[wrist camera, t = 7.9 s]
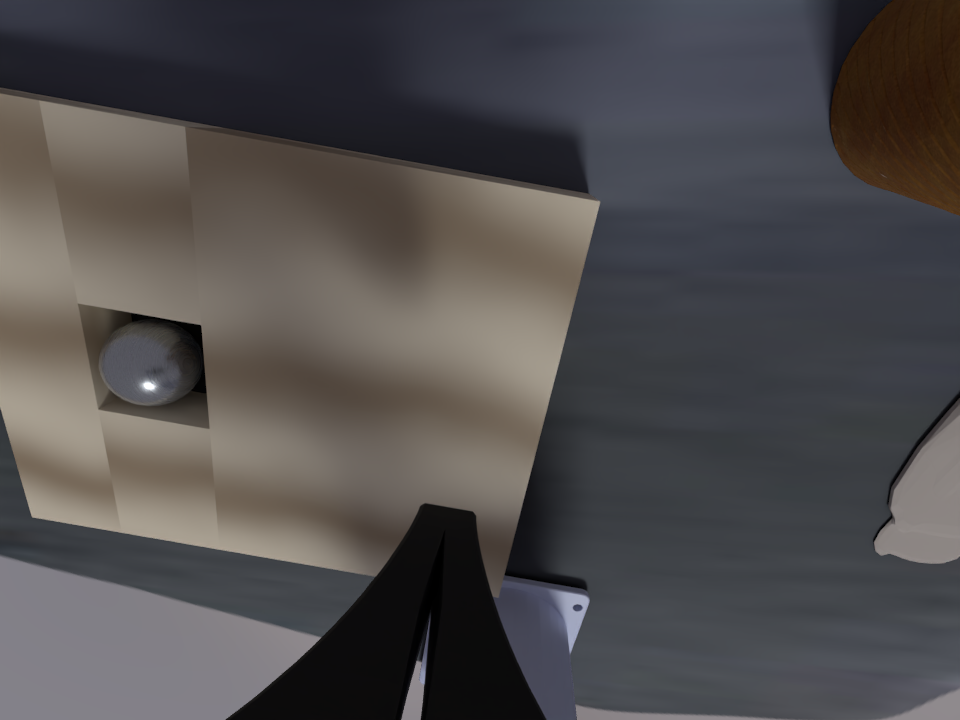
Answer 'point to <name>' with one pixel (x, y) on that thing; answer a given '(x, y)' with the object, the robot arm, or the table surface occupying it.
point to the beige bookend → (927, 499)
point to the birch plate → (276, 333)
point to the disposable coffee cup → (904, 103)
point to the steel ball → (150, 362)
